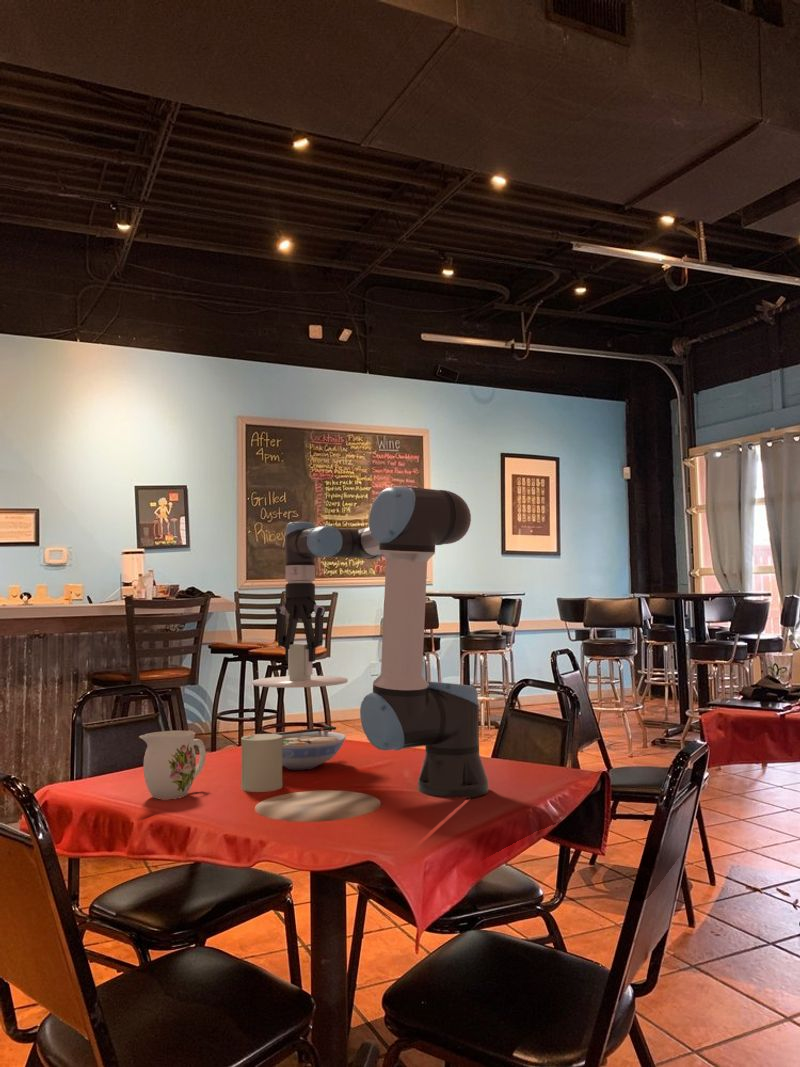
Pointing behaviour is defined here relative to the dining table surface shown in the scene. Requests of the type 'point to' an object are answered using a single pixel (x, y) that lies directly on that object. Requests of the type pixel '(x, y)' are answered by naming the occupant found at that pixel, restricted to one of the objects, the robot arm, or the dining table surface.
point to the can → (261, 762)
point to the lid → (298, 673)
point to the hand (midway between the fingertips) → (300, 674)
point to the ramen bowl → (309, 747)
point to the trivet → (317, 806)
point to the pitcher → (171, 763)
